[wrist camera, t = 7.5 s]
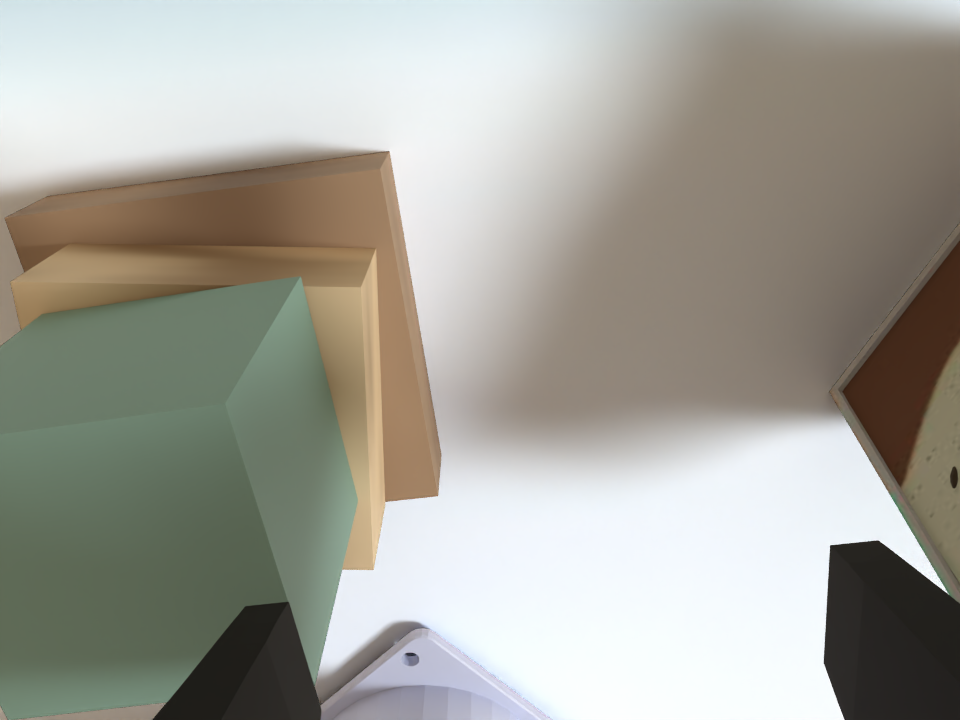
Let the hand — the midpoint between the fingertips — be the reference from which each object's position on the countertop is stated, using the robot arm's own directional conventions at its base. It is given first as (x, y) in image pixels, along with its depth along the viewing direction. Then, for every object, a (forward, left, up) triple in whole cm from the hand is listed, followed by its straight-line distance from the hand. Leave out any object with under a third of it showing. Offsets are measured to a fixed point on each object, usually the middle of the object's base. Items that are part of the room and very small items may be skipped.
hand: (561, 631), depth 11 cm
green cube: (-4, +5, -6) cm, 9 cm away
